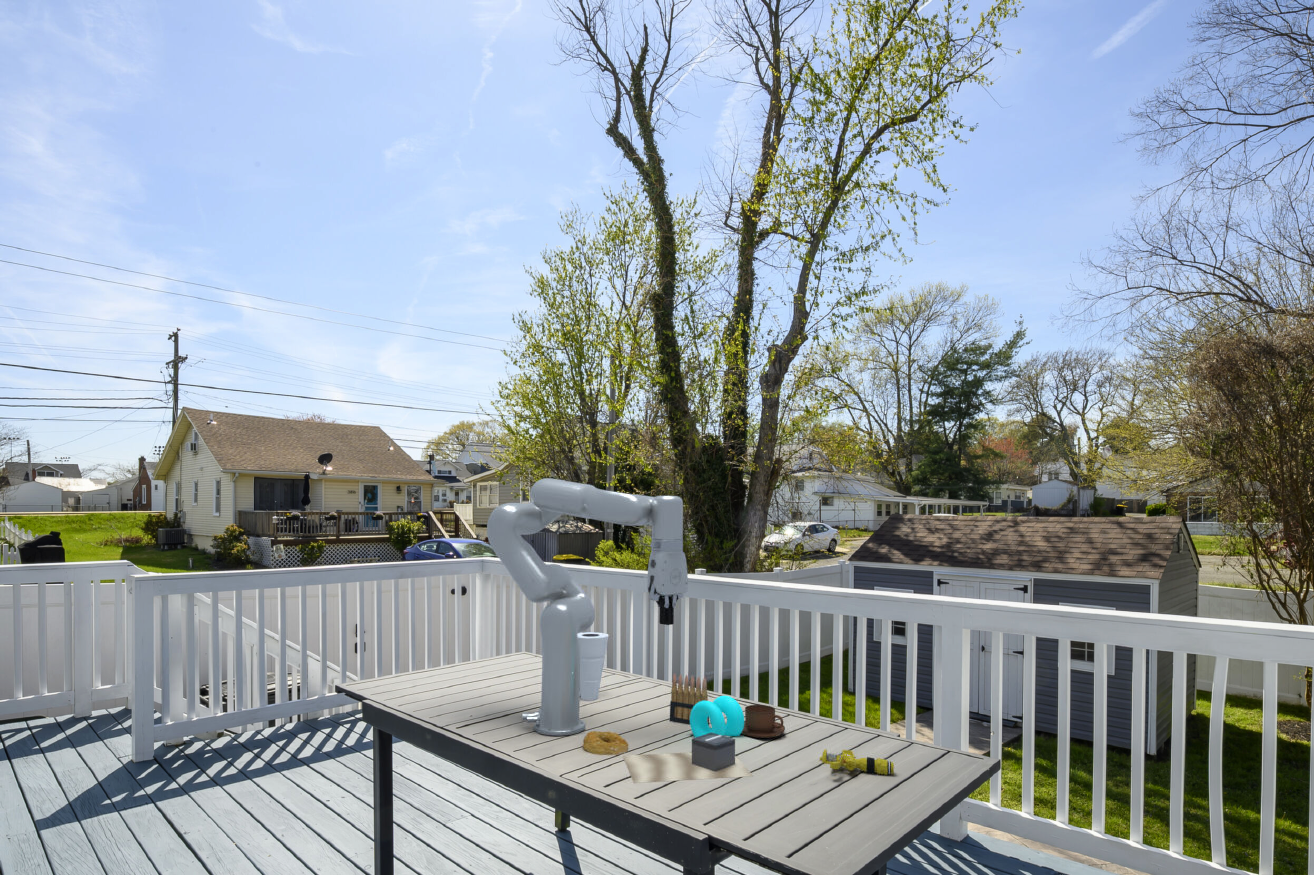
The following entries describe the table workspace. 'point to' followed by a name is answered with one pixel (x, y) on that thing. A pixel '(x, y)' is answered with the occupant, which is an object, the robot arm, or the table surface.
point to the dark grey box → (713, 751)
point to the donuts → (717, 717)
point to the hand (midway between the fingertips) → (666, 624)
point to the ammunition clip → (686, 698)
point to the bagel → (604, 743)
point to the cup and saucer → (762, 722)
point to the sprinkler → (857, 763)
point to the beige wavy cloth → (676, 768)
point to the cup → (591, 663)
